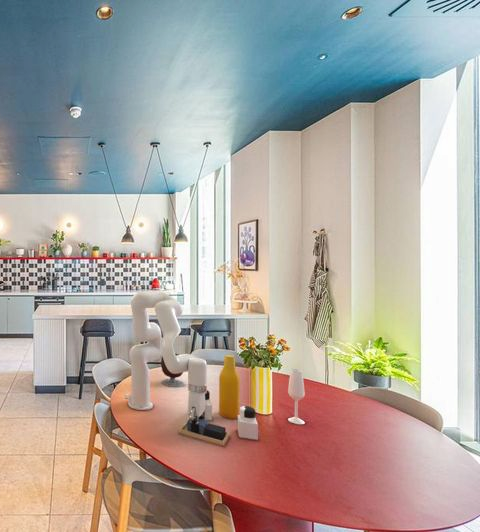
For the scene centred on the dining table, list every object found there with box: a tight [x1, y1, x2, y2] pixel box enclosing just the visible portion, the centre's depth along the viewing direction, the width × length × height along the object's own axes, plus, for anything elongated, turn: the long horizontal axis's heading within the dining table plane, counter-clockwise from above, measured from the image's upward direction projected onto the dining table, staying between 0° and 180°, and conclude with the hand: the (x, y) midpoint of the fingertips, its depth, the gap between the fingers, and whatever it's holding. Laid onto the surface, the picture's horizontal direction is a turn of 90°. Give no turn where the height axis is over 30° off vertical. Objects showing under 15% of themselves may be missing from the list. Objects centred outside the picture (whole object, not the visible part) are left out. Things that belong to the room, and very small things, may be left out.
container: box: [195, 389, 213, 421], centre depth 165 cm, size 8×8×13 cm
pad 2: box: [205, 422, 227, 441], centre depth 145 cm, size 7×6×4 cm
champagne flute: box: [287, 368, 306, 425], centre depth 162 cm, size 7×7×24 cm
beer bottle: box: [218, 354, 241, 420], centre depth 168 cm, size 9×9×29 cm
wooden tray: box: [178, 420, 230, 447], centre depth 147 cm, size 18×10×2 cm, turn 54°
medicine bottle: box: [236, 405, 259, 441], centre depth 147 cm, size 7×7×12 cm
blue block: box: [186, 417, 209, 435], centre depth 149 cm, size 7×6×4 cm
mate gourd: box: [160, 353, 184, 388], centre depth 212 cm, size 16×14×20 cm
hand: (197, 428), depth 149 cm, fingers closed on blue block, 5 cm apart
